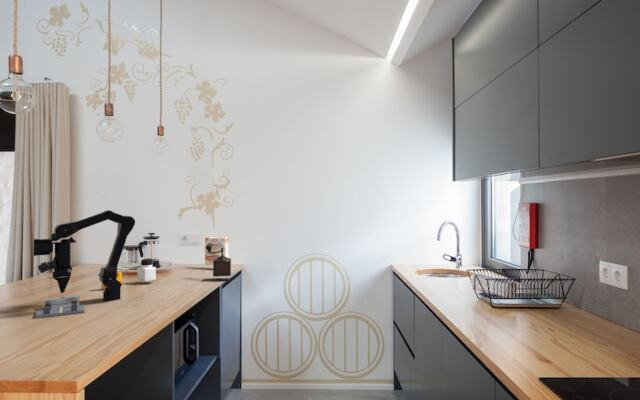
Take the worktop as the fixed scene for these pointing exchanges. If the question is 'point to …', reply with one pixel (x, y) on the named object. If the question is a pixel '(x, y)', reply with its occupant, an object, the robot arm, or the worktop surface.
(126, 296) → the worktop surface
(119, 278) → the pipe clamp
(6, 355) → the worktop surface
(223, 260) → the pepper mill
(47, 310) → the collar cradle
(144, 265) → the medicine bottle
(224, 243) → the coffeecake box
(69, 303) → the shiny metal block
